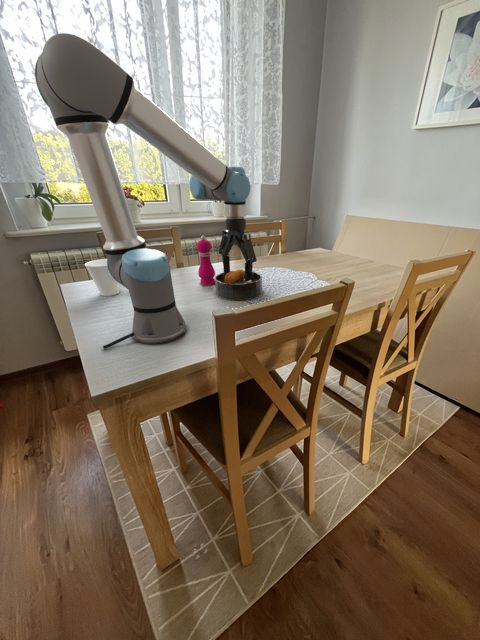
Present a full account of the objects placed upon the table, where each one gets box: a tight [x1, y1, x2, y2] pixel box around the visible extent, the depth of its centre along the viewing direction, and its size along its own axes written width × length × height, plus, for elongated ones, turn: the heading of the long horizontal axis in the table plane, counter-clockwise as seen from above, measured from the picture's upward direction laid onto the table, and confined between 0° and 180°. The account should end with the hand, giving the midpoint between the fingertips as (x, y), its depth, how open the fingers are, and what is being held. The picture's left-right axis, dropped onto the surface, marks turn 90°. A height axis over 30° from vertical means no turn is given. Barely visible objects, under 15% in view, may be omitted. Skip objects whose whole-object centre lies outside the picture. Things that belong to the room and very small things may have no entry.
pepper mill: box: [196, 235, 216, 286], centre depth 124 cm, size 7×7×20 cm
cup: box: [84, 258, 120, 297], centre depth 116 cm, size 12×12×12 cm
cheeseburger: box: [225, 268, 252, 284], centre depth 116 cm, size 10×11×10 cm
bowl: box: [214, 270, 263, 301], centre depth 117 cm, size 19×19×6 cm
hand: (237, 276), depth 115 cm, fingers open, 13 cm apart
